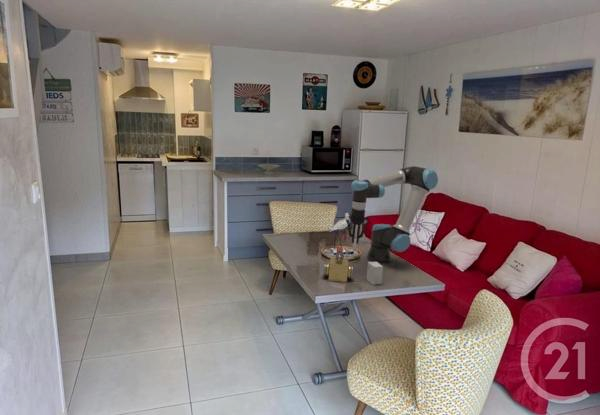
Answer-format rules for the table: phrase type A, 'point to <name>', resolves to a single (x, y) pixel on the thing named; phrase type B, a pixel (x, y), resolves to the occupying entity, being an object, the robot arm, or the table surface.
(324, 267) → the pipe
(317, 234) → the table surface
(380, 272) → the small box
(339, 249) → the lever
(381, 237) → the robot arm
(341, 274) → the valve body
